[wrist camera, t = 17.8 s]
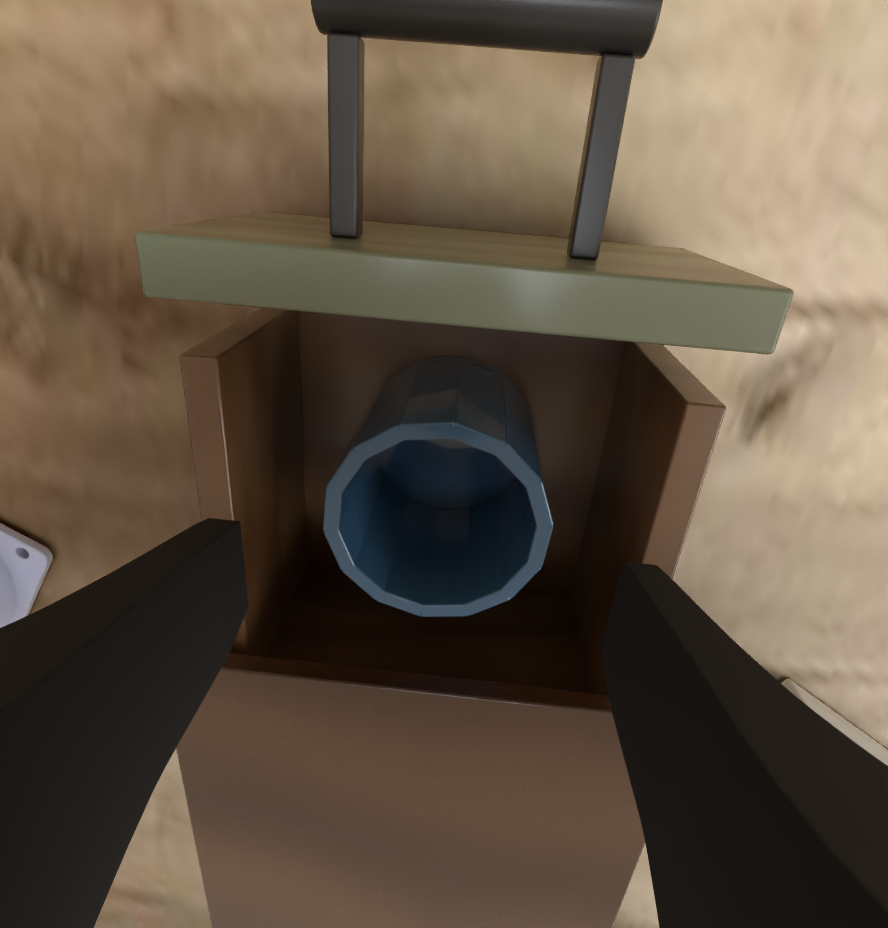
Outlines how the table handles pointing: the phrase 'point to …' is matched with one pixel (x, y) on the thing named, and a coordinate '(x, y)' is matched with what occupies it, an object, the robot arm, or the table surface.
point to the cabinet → (405, 800)
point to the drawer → (463, 335)
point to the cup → (441, 492)
